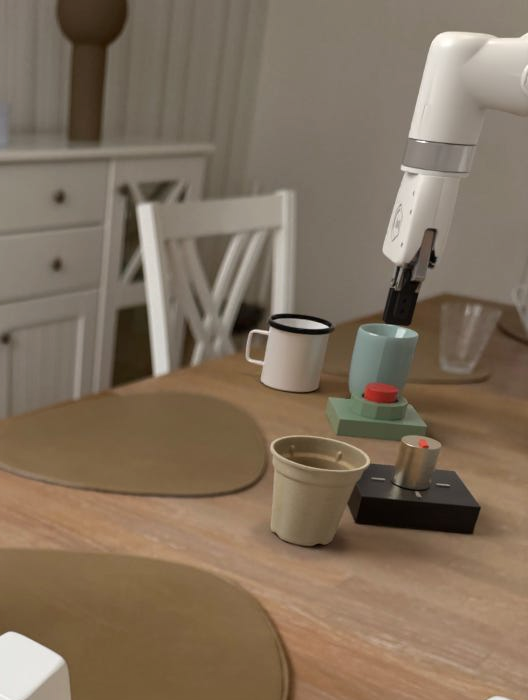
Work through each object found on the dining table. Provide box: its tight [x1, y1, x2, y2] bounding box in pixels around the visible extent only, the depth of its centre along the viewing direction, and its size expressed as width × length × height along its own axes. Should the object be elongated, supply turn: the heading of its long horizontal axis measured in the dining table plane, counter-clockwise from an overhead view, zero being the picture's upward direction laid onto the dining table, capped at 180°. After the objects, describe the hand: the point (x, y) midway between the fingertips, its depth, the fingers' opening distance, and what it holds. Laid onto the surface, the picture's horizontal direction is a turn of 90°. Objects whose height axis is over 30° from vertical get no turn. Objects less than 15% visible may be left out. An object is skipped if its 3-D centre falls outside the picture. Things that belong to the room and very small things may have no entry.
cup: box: [348, 323, 420, 396], centre depth 135 cm, size 8×8×10 cm
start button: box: [363, 383, 398, 404], centre depth 126 cm, size 4×4×2 cm
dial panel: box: [347, 462, 482, 535], centre depth 104 cm, size 12×10×3 cm
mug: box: [245, 312, 336, 394], centre depth 140 cm, size 12×10×9 cm
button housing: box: [324, 390, 428, 442], centre depth 127 cm, size 11×9×4 cm
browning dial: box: [391, 435, 442, 490], centre depth 102 cm, size 4×4×5 cm
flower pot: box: [269, 434, 371, 547], centre depth 96 cm, size 9×9×9 cm
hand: (395, 323), depth 121 cm, fingers closed
